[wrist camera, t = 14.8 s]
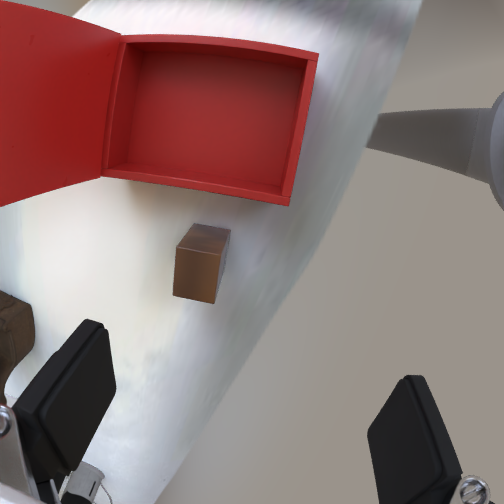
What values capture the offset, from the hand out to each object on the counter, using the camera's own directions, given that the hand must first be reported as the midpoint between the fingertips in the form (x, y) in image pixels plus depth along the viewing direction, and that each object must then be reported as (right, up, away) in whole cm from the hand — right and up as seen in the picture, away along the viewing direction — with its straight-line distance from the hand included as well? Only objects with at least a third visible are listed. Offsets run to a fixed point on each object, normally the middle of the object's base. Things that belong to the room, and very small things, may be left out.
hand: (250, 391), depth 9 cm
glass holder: (-40, -54, +51) cm, 84 cm away
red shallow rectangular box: (-4, +18, +20) cm, 27 cm away
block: (-5, +5, +25) cm, 26 cm away
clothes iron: (-40, -8, +33) cm, 52 cm away
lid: (-15, +14, +6) cm, 21 cm away
